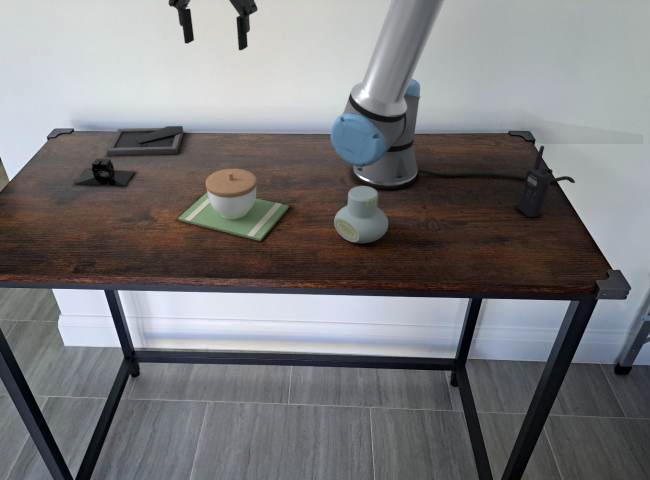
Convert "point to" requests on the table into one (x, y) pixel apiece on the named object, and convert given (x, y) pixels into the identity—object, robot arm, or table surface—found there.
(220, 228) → the towel
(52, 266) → the table surface
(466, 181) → the table surface
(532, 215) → the two-way radio
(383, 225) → the air freshener
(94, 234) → the table surface
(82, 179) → the black mounting bracket
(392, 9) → the robot arm
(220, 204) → the trinket box
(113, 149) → the picture frame
